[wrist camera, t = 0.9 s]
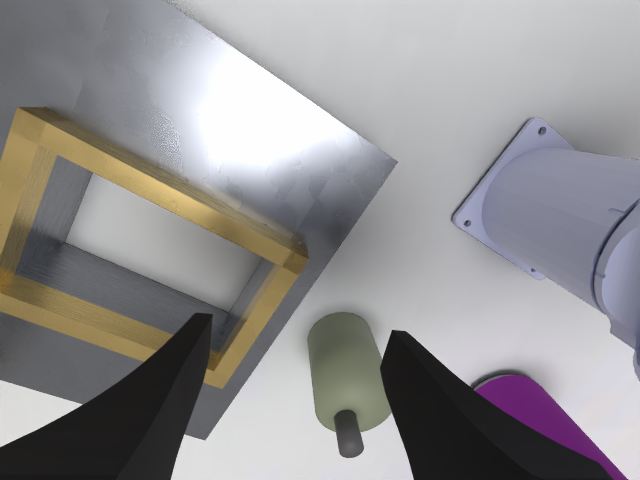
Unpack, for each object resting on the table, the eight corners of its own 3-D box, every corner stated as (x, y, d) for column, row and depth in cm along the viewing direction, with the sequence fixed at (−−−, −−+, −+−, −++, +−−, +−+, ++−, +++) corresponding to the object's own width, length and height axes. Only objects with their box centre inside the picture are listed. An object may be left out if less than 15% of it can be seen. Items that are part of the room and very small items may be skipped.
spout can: (383, 328, 25) (425, 419, 18) (347, 372, 26) (373, 474, 19) (330, 302, 24) (352, 390, 16) (295, 350, 25) (301, 452, 18)
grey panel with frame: (376, 151, 20) (409, 167, 15) (216, 392, 26) (199, 462, 20) (-70, -156, 13) (-296, -325, 8) (-148, 266, 19) (-305, 325, 14)
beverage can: (552, 379, 29) (713, 543, 18) (502, 435, 32) (619, 610, 21) (488, 358, 27) (627, 525, 16) (440, 418, 30) (533, 602, 19)
